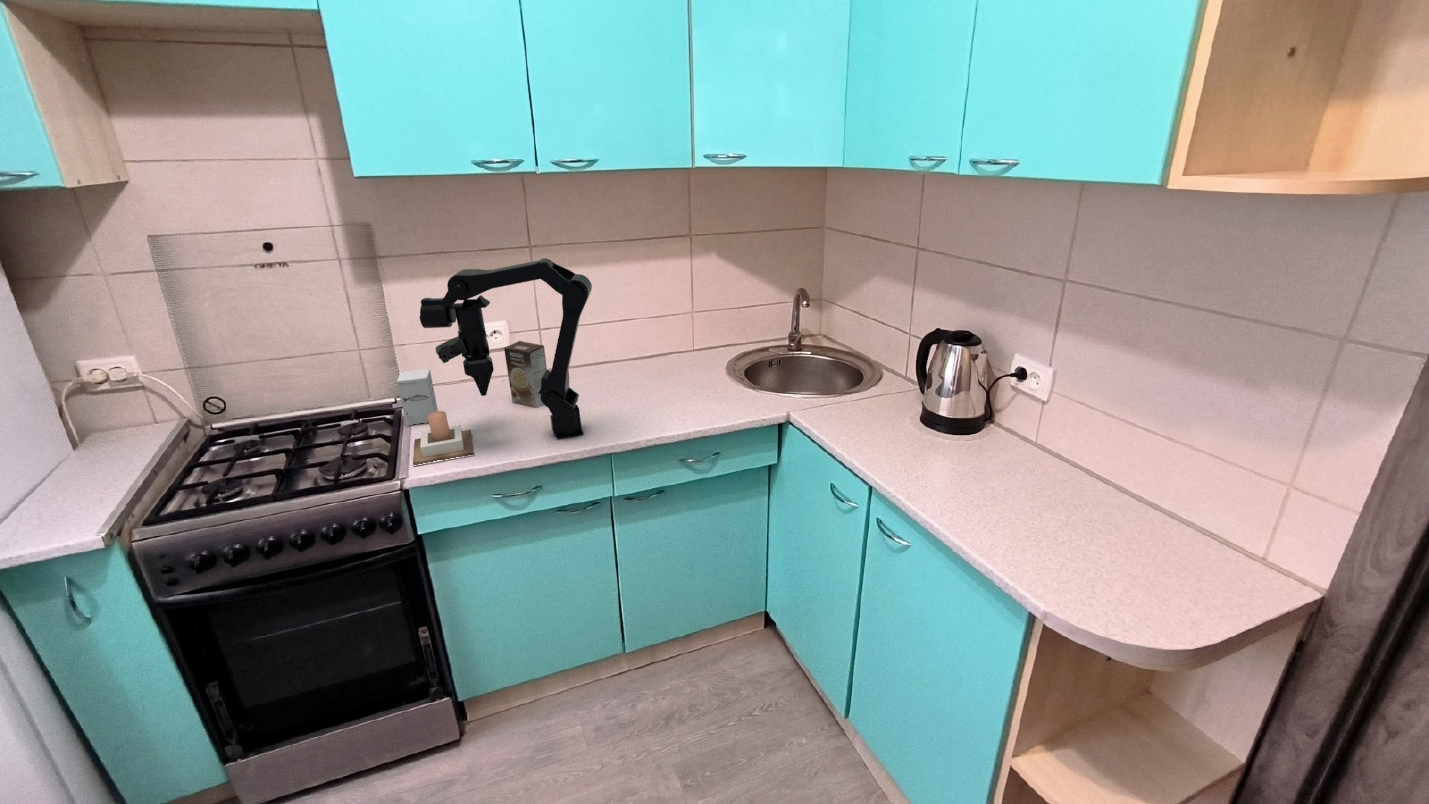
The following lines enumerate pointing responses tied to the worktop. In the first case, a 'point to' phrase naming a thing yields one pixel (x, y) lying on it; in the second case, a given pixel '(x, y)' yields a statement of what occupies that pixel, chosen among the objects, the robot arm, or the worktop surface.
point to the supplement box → (417, 395)
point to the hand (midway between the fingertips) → (482, 388)
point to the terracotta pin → (439, 426)
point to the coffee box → (525, 372)
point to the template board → (442, 446)
